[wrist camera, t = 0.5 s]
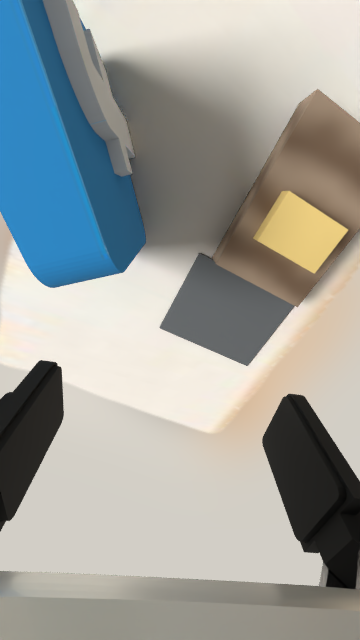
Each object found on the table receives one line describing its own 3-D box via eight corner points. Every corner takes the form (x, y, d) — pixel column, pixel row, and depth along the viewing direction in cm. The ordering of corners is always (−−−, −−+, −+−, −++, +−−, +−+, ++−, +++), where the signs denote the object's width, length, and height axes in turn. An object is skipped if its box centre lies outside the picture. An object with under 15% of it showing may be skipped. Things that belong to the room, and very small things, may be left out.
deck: (299, 103, 28) (317, 88, 24) (383, 168, 31) (411, 164, 27) (211, 257, 36) (215, 264, 32) (286, 297, 39) (297, 307, 35)
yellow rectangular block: (281, 191, 28) (289, 190, 27) (338, 228, 30) (348, 229, 29) (252, 238, 31) (257, 240, 29) (306, 269, 33) (314, 273, 31)
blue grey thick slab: (158, 237, 34) (140, 277, 16) (104, 250, 35) (31, 304, 17) (107, 44, 25) (-55, -324, 8) (36, 68, 26) (-264, -216, 8)
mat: (199, 252, 35) (199, 253, 35) (294, 303, 39) (295, 304, 39) (159, 327, 41) (159, 328, 41) (246, 365, 45) (247, 366, 45)
